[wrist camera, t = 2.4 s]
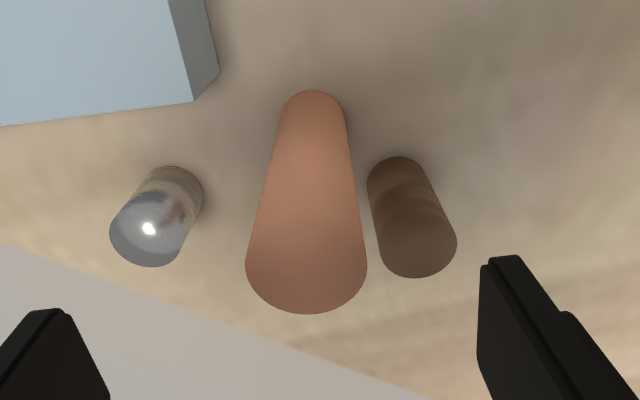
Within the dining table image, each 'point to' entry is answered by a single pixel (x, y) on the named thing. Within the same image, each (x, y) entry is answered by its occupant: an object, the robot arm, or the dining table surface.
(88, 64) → the hole block
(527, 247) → the dining table surface
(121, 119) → the dining table surface
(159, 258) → the short pin
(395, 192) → the mid pin
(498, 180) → the dining table surface
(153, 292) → the dining table surface
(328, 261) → the long pin
